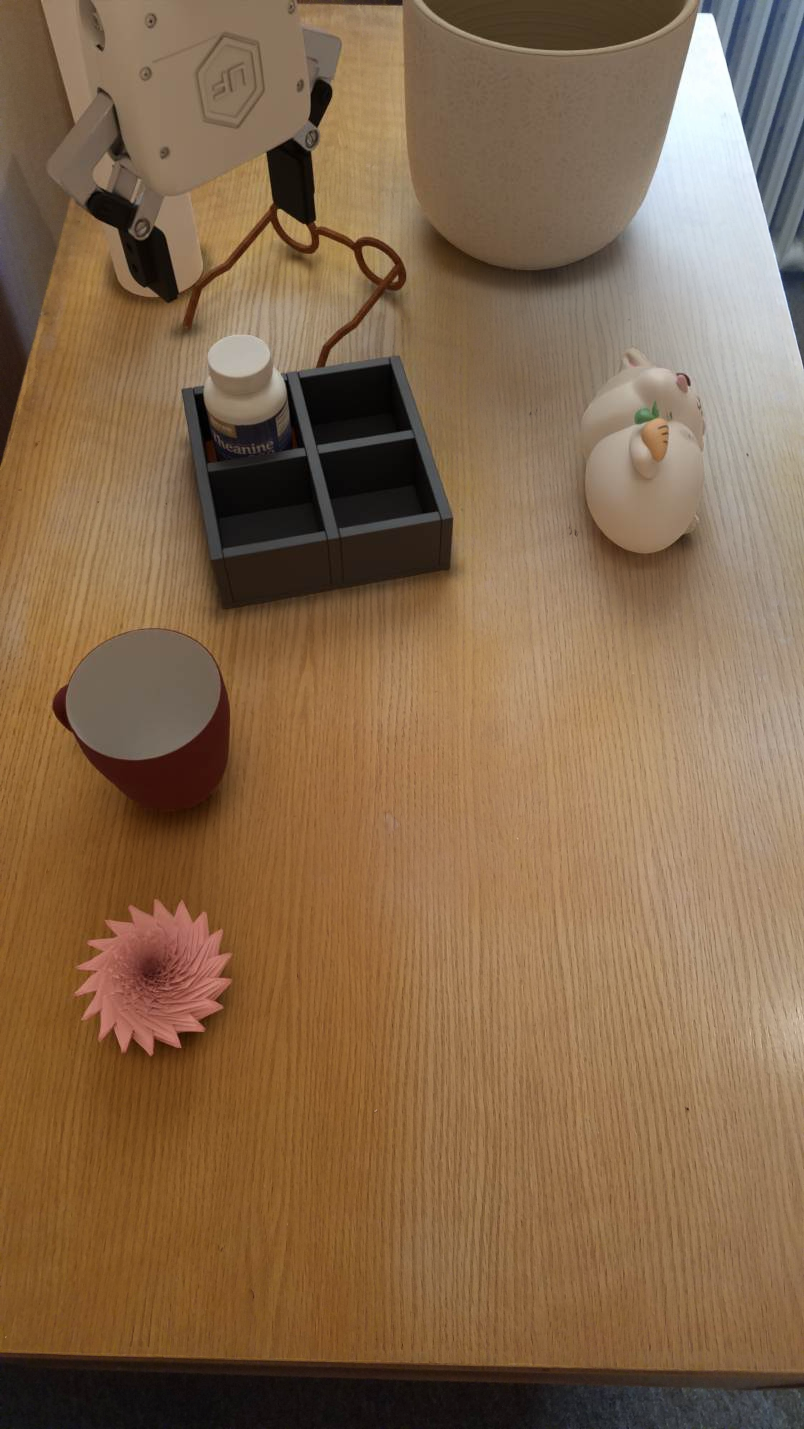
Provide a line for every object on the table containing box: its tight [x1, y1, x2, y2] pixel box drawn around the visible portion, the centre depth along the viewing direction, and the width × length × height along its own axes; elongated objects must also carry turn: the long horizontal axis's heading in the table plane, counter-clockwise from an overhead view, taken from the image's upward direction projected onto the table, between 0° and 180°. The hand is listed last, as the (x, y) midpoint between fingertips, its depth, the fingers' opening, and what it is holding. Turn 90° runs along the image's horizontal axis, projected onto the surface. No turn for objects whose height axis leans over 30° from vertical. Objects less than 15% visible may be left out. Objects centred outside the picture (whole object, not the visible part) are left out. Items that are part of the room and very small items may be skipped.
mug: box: [51, 627, 231, 812], centre depth 56 cm, size 10×8×10 cm
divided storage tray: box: [180, 354, 454, 610], centre depth 69 cm, size 15×15×5 cm
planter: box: [402, 0, 701, 271], centre depth 79 cm, size 21×21×19 cm
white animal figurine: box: [579, 347, 706, 554], centre depth 68 cm, size 10×8×15 cm
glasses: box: [181, 201, 407, 368], centre depth 79 cm, size 13×13×5 cm
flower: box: [73, 898, 234, 1057], centre depth 52 cm, size 8×8×6 cm
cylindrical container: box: [40, 0, 204, 298], centre depth 73 cm, size 7×7×25 cm
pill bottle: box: [203, 333, 293, 462], centre depth 68 cm, size 5×5×10 cm
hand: (228, 250), depth 57 cm, fingers open, 9 cm apart
